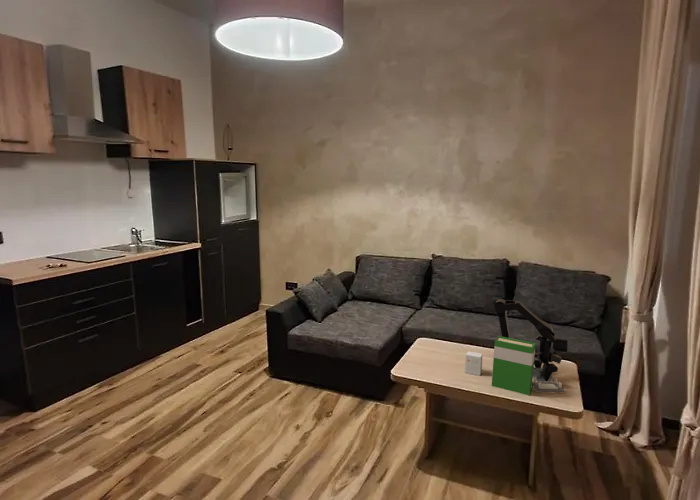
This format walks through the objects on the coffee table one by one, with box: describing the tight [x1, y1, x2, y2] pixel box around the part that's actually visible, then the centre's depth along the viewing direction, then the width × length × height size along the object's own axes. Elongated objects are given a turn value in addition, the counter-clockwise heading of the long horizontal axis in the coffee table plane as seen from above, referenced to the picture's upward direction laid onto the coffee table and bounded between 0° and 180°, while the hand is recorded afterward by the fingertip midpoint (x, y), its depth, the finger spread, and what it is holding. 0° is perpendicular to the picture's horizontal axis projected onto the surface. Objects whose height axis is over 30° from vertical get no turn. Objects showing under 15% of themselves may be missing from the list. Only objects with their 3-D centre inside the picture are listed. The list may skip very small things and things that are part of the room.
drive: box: [533, 367, 554, 382], centre depth 226 cm, size 8×4×6 cm, turn 90°
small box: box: [464, 351, 483, 377], centre depth 232 cm, size 8×6×10 cm
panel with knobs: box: [532, 377, 566, 393], centre depth 216 cm, size 13×9×4 cm
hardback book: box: [491, 335, 537, 396], centre depth 215 cm, size 18×7×24 cm, turn 58°
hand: (542, 377), depth 226 cm, fingers open, 9 cm apart
